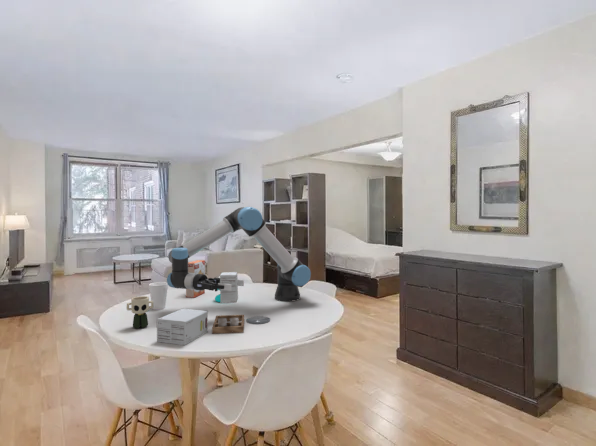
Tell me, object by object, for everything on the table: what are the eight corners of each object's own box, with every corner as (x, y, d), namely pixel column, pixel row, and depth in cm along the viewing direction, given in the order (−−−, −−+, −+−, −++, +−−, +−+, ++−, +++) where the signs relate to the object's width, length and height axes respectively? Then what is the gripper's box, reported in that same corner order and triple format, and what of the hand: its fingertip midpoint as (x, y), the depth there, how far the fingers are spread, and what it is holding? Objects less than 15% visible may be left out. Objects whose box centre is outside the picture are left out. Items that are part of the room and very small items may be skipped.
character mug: (126, 331, 155) (126, 300, 154) (127, 326, 161) (126, 297, 161) (154, 327, 159) (153, 298, 159) (153, 323, 166) (153, 295, 165)
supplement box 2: (222, 299, 167) (221, 272, 167) (238, 298, 168) (237, 271, 167) (219, 303, 160) (219, 275, 159) (236, 302, 160) (236, 274, 160)
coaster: (269, 316, 176) (269, 315, 176) (270, 323, 165) (270, 322, 165) (246, 317, 175) (246, 316, 175) (246, 324, 164) (246, 323, 164)
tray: (244, 319, 171) (244, 309, 171) (243, 332, 153) (243, 320, 153) (216, 320, 169) (216, 310, 169) (212, 333, 151) (212, 321, 151)
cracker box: (194, 298, 214) (194, 263, 213) (185, 297, 215) (185, 262, 215) (205, 293, 228) (205, 260, 227) (196, 292, 229) (196, 259, 228)
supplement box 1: (185, 345, 138) (185, 321, 138) (156, 342, 142) (156, 318, 142) (208, 331, 154) (208, 310, 154) (181, 329, 158) (181, 307, 158)
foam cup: (172, 307, 194) (171, 283, 194) (158, 311, 186) (158, 286, 185) (158, 305, 198) (158, 281, 198) (145, 309, 190) (145, 284, 189)
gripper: (211, 285, 181) (250, 288, 172) (180, 294, 160) (223, 299, 152) (210, 270, 180) (249, 272, 172) (180, 278, 160) (223, 281, 151)
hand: (237, 285), depth 162 cm, fingers closed on supplement box 2, 9 cm apart
